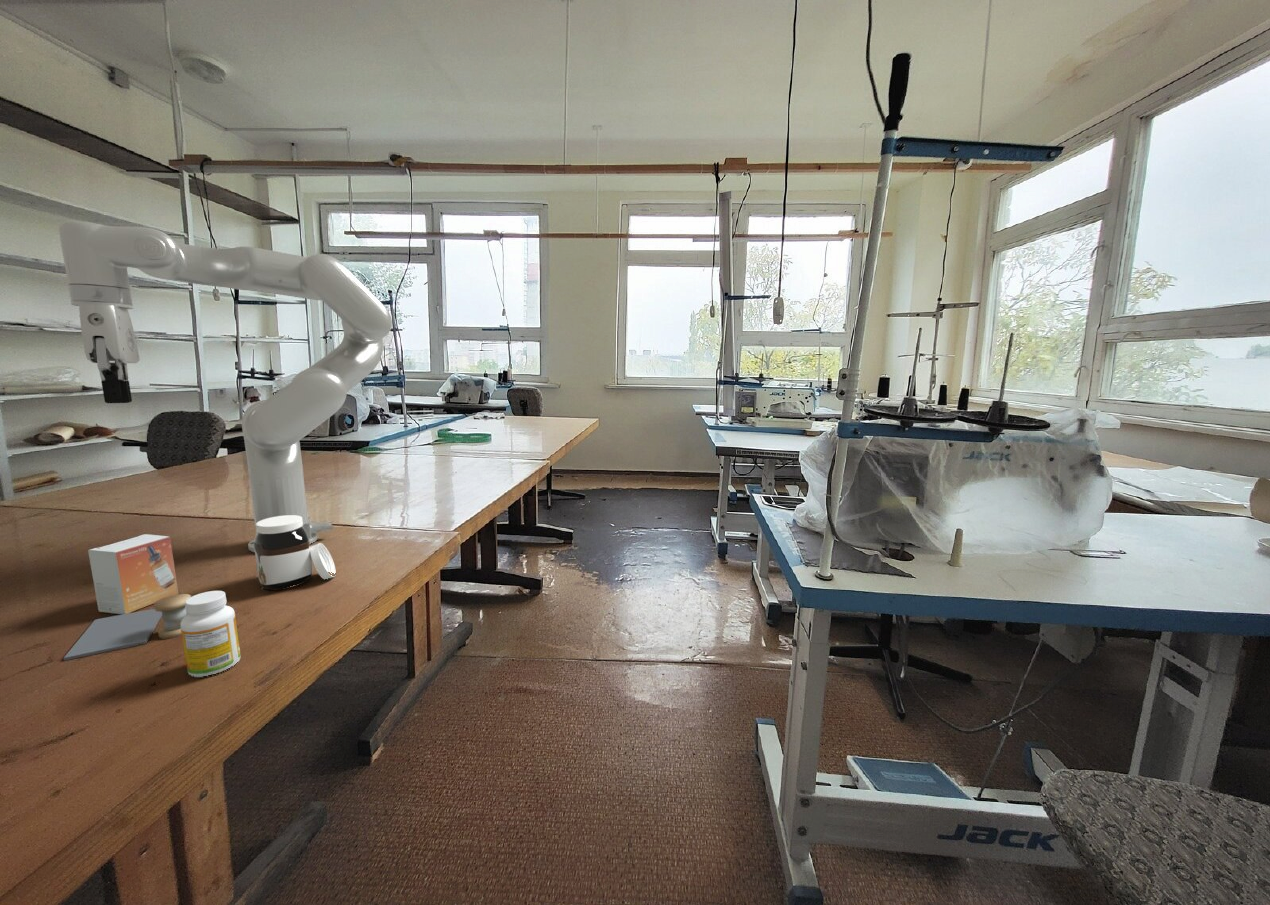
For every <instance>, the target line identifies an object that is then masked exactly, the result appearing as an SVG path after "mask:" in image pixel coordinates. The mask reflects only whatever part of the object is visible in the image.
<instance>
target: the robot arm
mask: <svg viewBox="0 0 1270 905" xmlns="http://www.w3.org/2000/svg"><path fill="white" fill-rule="evenodd" d="M58 233H59V240H60V245H61V251H62V256H63V263H64V268H65V273H66V274H65V275H66V280H67V286H68V292H69V298H70V302H71V303H70V304H71V306H74V307H75V306H76V307H79V308H78V309H79V310H78V311H79V323H80V331H81V340H82V345H83V349H84V354H85V357H86V359H87V361H89V362H91V363H92V364H93V363H94V364H97V369H98V372H99V376H100V380H101V387H102V394H103V399H104V402H105V404H128V403H132V402H133V398H132V392H131V386H130V380H129V373H128V364H137V363H138V362H140V356H139V355H140V354H139V349H138V344H137V341H136V340H137V339H136V336H135V335H136V334H135V331H134V327H133V321H132V319H131V315H130V312H129V310H133V309H134V306H133V300H132V292H131V286H130V279H129V272H128V268H132V269H137V270H140V272H142V273H143V274H145V275H148V276H149V277H153V278H155V279H161V280H167V281H173V282H179V283H186V284H192V285H193V284H195V285H202V286H209V287H217V288H219V287H220V288H228V289H234V290H237V291H238V290H239V291H250V292H258V293H265V294H273V295H279V296H287V297H293V298H300V299H306V300H314V301H322V302H323V303H325V305H326V306H327V307H328V308H330V309H331V310H332V312H334V313H335V314H336V315H337V317H339V318H340V319H341V320H340V321H341V327H342V331H343V338H342V340H341V342H340V344H339V345H337V346H336V348H334V349H333V350H331V351H330V352H329V353H327V355H325V356H324V357H322V358H320V359H319V360H318V361H317V362H315V363H314V364H312V365H310V366H308V367H307V368H306V369H304V370H301V371H300V372H298V373H297V374H296V375H295V376H294V377H293V378H292V380H291V381H290V382H289V383H288V384H287V385H285V386H284V387H282V388H281V389H280V390H278V391H277V392H275V393H274V394H272V395H271V396H270V397H269V398H267V399H263V400H262V399H261V400H258V401H257V402H254V403H252V404H251V405H249V406H248V407H247V408H246V410H245V411H244V413H243V414H242V418H241V429H242V434H243V435H242V436H243V439H244V448H245V454H246V462H247V470H248V478H249V488H250V495H251V496H250V497H251V504H252V512H253V513H252V514H253V520H254V529H255V536H256V535H257V534H258V532H257V530H256V523H257V522H259V521H261V520H263V519H267V518H271V517H277V516H285V515H297V516H301V517H302V521H303V526H302V527H303V528H304V530H305V531H306V533H307V536H308V538H309V543H310V545H312V544H313V542H314V543H315V542H317V540H318V538H319V534H318V532H327V531H333V521H328V522H326V520H322V521H317V522H314V521H311V518H310V516H308V508H307V498H306V489H305V479H304V469H303V468H304V465H303V459H302V457H303V456H302V450H301V443H300V441H301V440H303V439H304V438H305V437H306V436H307V435H309V434H310V433H311V432H313V431H314V430H315V429H317V428H318V427H319V426H321V425H322V424H323V423H325V422H326V421H327V420H328V419H330V418H331V417H332V416H334V415H335V414H336V413H337V412H338V411H339V410H340V409H341V408H342V406H343V405H344V404H345V401H346V399H347V395H348V394H347V393H348V392H349V391H351V390H352V389H353V388H354V387H356V386H357V385H358V384H360V383H361V382H362V381H363V380H364V379H365V378H366V377H368V376H369V375H370V374H371V373H372V372H373V371H374V370H375V369H376V367H377V366H378V364H379V363H380V360H381V357H382V353H383V347H384V342H383V338H385V337H387V336H388V334H389V333H390V331H391V329H392V324H393V320H392V317H391V313H390V312H389V310H388V308H387V307H386V306H385V305H384V303H383V302H381V301H380V300H379V299H378V298H377V296H375V295H374V294H373V293H372V292H371V291H370V289H368V288H367V286H365V285H364V283H362V281H361V280H359V279H358V277H357V276H356V275H354V274H353V273H352V272H351V271H350V269H349V268H347V266H345V265H344V264H343V262H341V261H340V260H338V259H337V258H335V257H333V256H332V255H328V254H324V253H318V254H312V255H310V256H308V257H307V256H303V255H298V254H297V255H296V254H291V253H286V252H281V251H275V250H271V249H265V248H260V247H256V246H255V247H254V246H236V247H229V248H228V247H227V248H216V247H215V248H213V247H205V246H204V247H203V246H199V245H192V244H187V243H181V242H176V241H175V239H173V238H172V237H171V236H169V235H168V234H167V233H165V232H163V231H161V230H159V229H156V228H153V227H152V228H151V227H147V226H146V227H145V226H114V225H113V226H112V225H111V226H110V225H105V224H101V223H95V222H90V221H83V220H82V221H81V220H67V221H63V222H61V223H60V225H59V226H58ZM254 540H255V538H254V539H252V540H250V541H249V542H248V545H247V547H248V551H251V552H252V553H255V548H254ZM311 543H312V544H311Z"/></svg>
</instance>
